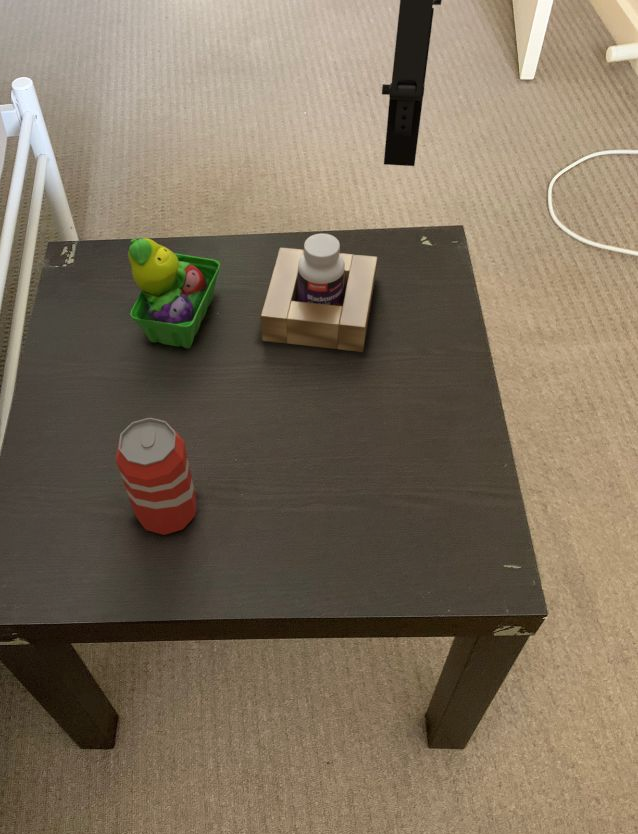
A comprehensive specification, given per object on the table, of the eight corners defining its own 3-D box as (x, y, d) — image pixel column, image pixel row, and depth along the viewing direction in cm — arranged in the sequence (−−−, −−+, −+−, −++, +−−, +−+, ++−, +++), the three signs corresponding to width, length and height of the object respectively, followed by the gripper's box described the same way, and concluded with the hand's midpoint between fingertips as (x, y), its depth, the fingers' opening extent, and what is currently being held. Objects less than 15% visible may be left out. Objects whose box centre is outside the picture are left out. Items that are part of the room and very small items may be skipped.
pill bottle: (305, 330, 90) (305, 265, 82) (292, 300, 93) (291, 234, 85) (348, 320, 90) (353, 254, 82) (334, 290, 93) (337, 224, 85)
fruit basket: (196, 359, 88) (183, 284, 79) (126, 345, 90) (105, 270, 80) (225, 293, 94) (217, 216, 84) (159, 282, 96) (144, 205, 86)
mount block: (374, 282, 94) (377, 256, 90) (362, 352, 88) (365, 327, 84) (280, 273, 95) (279, 247, 92) (262, 340, 89) (260, 315, 86)
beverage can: (198, 484, 79) (183, 411, 68) (195, 537, 75) (179, 468, 65) (140, 486, 79) (117, 413, 69) (134, 538, 75) (109, 470, 65)
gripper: (398, -228, 60) (378, 51, 78) (364, -103, 47) (349, 199, 64) (494, -230, 59) (452, 53, 76) (488, -102, 45) (438, 205, 63)
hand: (405, 120), depth 70 cm, fingers open, 13 cm apart
